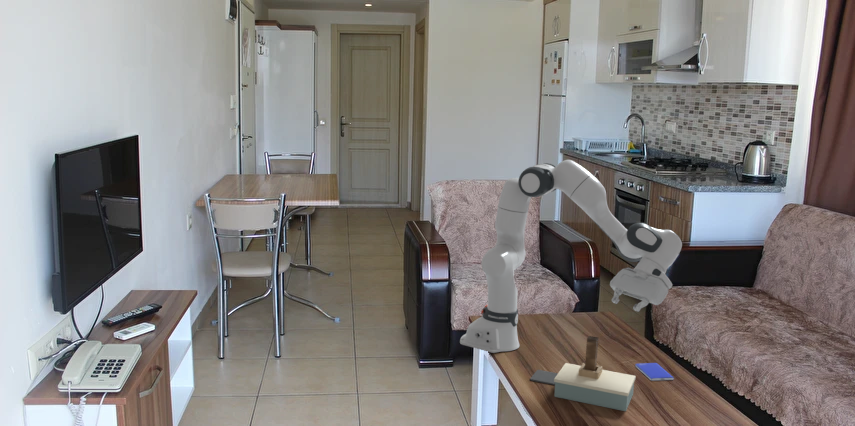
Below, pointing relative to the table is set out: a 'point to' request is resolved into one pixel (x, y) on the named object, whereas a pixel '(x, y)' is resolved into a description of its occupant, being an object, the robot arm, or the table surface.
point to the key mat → (544, 377)
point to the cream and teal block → (594, 386)
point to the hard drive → (654, 371)
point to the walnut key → (591, 353)
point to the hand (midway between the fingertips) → (624, 306)
